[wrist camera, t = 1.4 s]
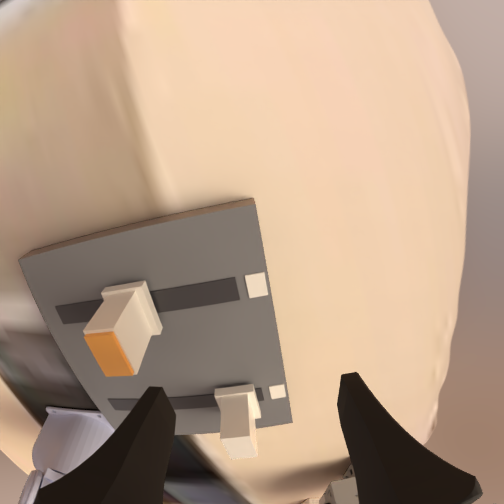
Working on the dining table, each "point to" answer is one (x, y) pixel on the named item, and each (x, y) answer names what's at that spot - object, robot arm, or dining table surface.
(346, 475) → the circuit breaker
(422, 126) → the dining table surface
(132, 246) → the breaker panel
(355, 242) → the dining table surface
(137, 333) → the block
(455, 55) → the dining table surface
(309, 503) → the ink cartridge box
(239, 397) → the block
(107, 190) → the dining table surface
